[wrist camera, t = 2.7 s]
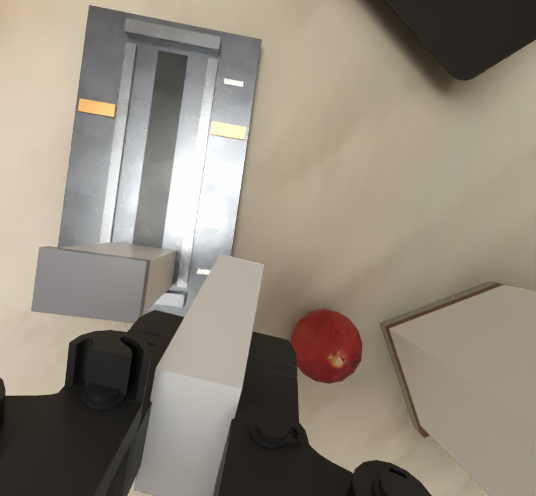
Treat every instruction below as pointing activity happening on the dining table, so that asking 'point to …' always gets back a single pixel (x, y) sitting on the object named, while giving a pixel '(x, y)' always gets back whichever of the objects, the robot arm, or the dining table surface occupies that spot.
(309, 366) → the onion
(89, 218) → the console
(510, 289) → the white shelf
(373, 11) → the dining table surface
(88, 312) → the fader tab
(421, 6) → the radio receiver
